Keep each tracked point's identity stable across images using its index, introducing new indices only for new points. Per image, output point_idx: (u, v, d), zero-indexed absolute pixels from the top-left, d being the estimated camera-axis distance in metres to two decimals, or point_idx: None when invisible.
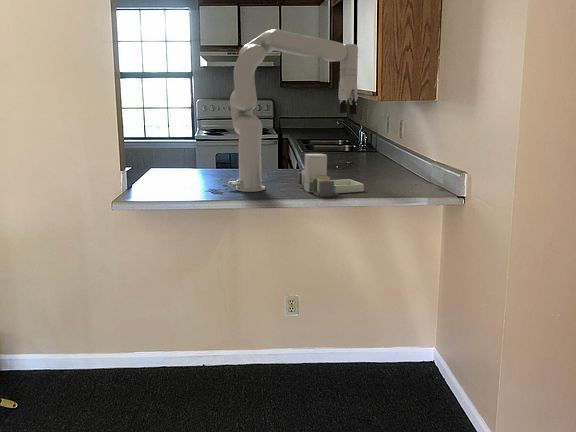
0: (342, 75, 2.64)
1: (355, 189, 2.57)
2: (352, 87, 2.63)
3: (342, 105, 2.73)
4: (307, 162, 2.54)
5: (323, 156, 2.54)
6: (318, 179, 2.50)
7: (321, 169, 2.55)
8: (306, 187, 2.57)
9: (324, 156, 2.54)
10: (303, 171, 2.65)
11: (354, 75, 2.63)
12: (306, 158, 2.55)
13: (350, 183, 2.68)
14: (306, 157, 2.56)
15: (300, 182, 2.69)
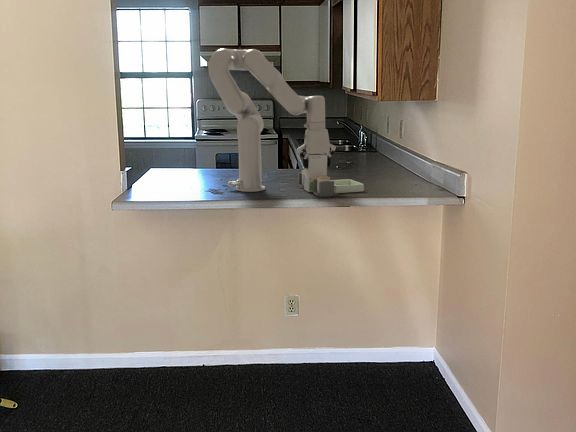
0: (322, 128, 2.51)
1: (355, 189, 2.57)
2: None
3: None
4: None
5: (323, 156, 2.54)
6: (318, 179, 2.50)
7: (321, 169, 2.55)
8: (306, 187, 2.57)
9: (324, 156, 2.54)
10: (303, 171, 2.65)
11: None
12: (307, 157, 2.55)
13: (350, 183, 2.68)
14: None
15: (300, 182, 2.69)
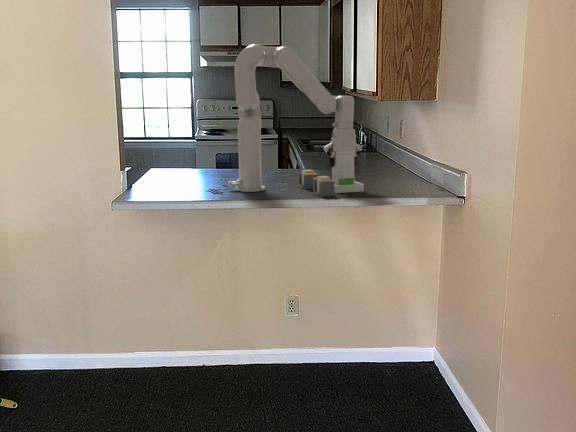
0: (350, 128, 2.54)
1: (355, 189, 2.57)
2: None
3: None
4: (335, 159, 2.57)
5: (350, 152, 2.57)
6: (318, 179, 2.50)
7: (349, 165, 2.58)
8: (335, 184, 2.60)
9: (351, 152, 2.57)
10: (303, 171, 2.65)
11: None
12: (334, 155, 2.58)
13: None
14: None
15: (300, 182, 2.69)
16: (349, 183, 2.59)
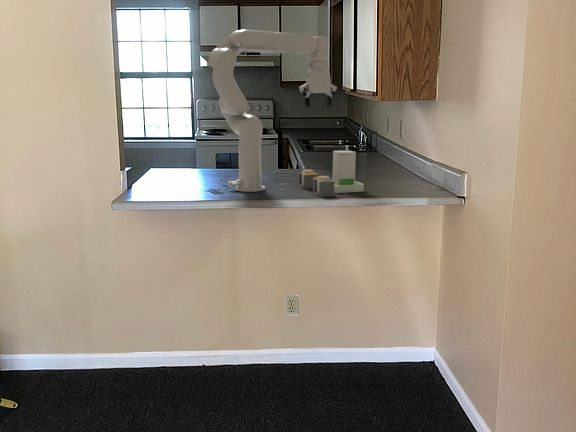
0: (324, 68, 2.61)
1: (355, 189, 2.57)
2: None
3: None
4: (336, 159, 2.58)
5: (352, 153, 2.57)
6: (318, 179, 2.50)
7: (350, 166, 2.58)
8: (335, 184, 2.60)
9: (353, 153, 2.57)
10: (303, 171, 2.65)
11: None
12: (335, 155, 2.58)
13: None
14: (335, 154, 2.59)
15: (300, 182, 2.69)
16: (349, 184, 2.60)
